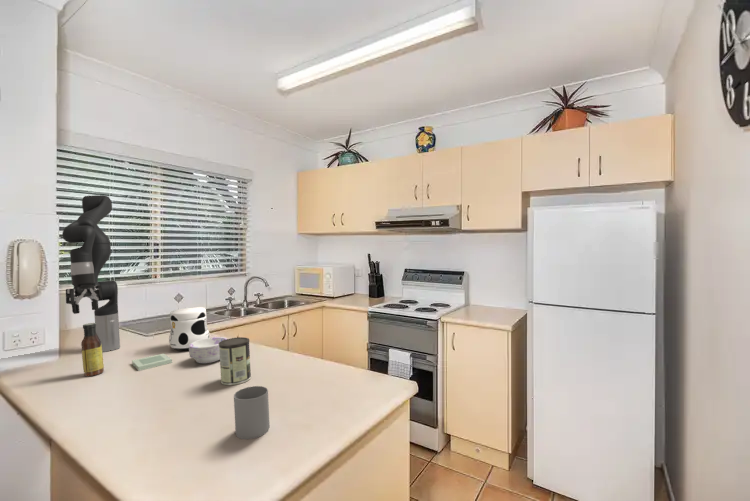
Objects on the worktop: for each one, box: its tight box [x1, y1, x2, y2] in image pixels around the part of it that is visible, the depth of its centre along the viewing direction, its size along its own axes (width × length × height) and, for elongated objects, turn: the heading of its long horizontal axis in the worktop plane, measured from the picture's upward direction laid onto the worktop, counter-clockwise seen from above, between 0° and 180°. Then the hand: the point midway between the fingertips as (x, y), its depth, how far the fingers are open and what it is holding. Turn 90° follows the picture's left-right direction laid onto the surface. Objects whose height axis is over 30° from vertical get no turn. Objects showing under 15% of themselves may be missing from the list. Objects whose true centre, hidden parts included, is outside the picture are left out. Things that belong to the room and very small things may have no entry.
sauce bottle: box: [80, 322, 105, 377], centre depth 139 cm, size 7×6×20 cm
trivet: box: [131, 353, 173, 372], centre depth 150 cm, size 12×12×2 cm
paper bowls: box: [188, 336, 228, 364], centre depth 152 cm, size 15×15×8 cm
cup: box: [233, 385, 271, 440], centre depth 93 cm, size 8×8×10 cm
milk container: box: [168, 306, 210, 351], centre depth 173 cm, size 17×17×18 cm
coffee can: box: [219, 337, 252, 386], centre depth 129 cm, size 10×10×14 cm
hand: (85, 311), depth 150 cm, fingers open, 8 cm apart
